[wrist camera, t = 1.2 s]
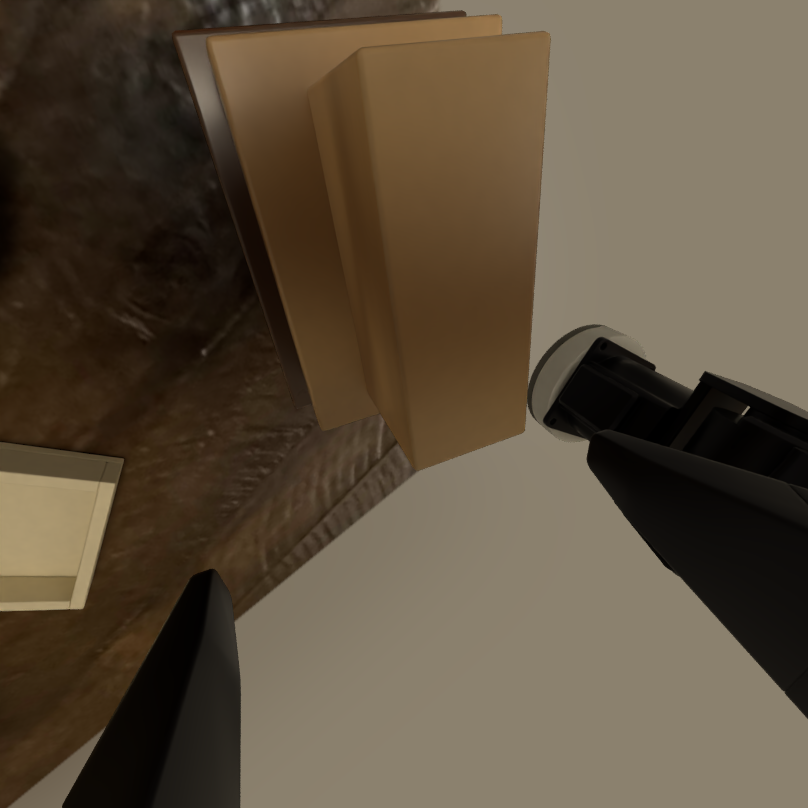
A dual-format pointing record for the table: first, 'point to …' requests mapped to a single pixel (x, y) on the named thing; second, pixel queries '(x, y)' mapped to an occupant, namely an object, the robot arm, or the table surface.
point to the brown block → (232, 178)
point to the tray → (52, 524)
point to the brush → (399, 215)
